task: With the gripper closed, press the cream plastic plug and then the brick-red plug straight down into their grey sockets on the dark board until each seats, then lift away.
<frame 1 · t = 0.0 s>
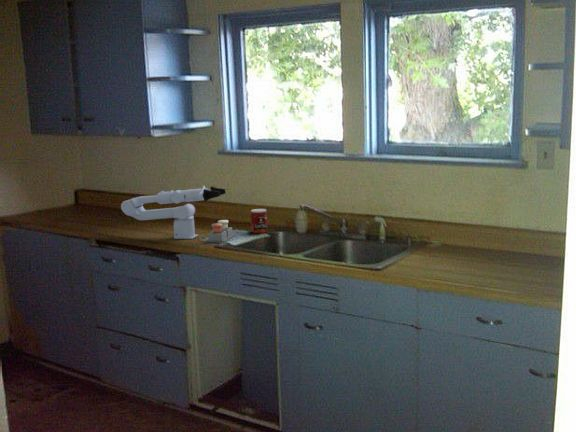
hand: (222, 192, 313), 22 cm above the worktop, tool horizontal, fingers open, 7 cm apart
cream plug: (223, 225, 320), point 5 cm above the worktop, slide at 0.0 cm
socket board: (220, 238, 316), on the worktop
red plug: (217, 228, 311), point 5 cm above the worktop, slide at 0.0 cm
canned food: (259, 232, 327), on the worktop
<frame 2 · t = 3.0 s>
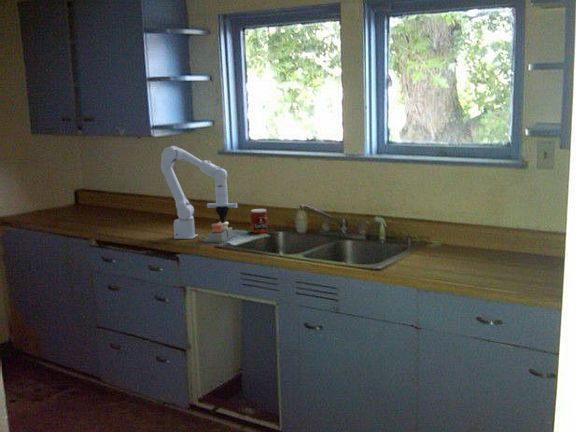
hand: (223, 222, 319), 7 cm above the worktop, tool pointing down, fingers closed, pressing on cream plug
cream plug: (223, 227, 320), point 5 cm above the worktop, slide at 0.8 cm, touching gripper
everything else where it was.
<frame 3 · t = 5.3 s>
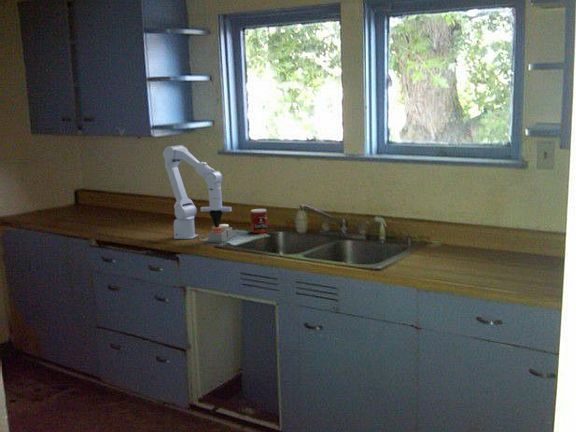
hand: (217, 226, 311), 6 cm above the worktop, tool pointing down, fingers closed, pressing on red plug
cream plug: (223, 229, 320), point 3 cm above the worktop, slide at 2.0 cm
red plug: (217, 231, 312), point 4 cm above the worktop, slide at 1.1 cm, touching gripper
everything else where it was.
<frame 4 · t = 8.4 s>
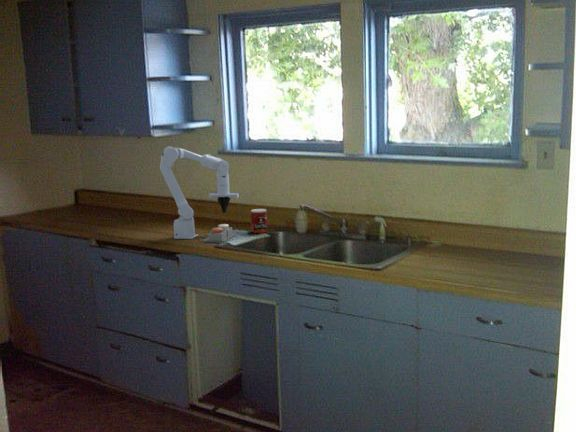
hand: (224, 212, 326), 10 cm above the worktop, tool pointing down, fingers closed
red plug: (217, 233, 312), point 3 cm above the worktop, slide at 2.0 cm
everything else where it was.
at the end: cream plug slide at 2.0 cm; red plug slide at 2.0 cm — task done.
